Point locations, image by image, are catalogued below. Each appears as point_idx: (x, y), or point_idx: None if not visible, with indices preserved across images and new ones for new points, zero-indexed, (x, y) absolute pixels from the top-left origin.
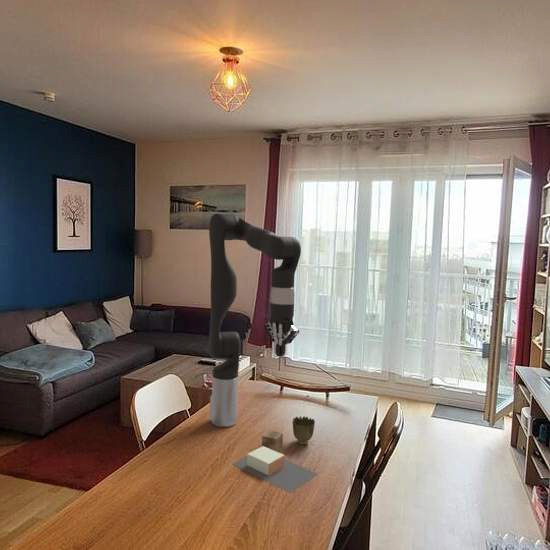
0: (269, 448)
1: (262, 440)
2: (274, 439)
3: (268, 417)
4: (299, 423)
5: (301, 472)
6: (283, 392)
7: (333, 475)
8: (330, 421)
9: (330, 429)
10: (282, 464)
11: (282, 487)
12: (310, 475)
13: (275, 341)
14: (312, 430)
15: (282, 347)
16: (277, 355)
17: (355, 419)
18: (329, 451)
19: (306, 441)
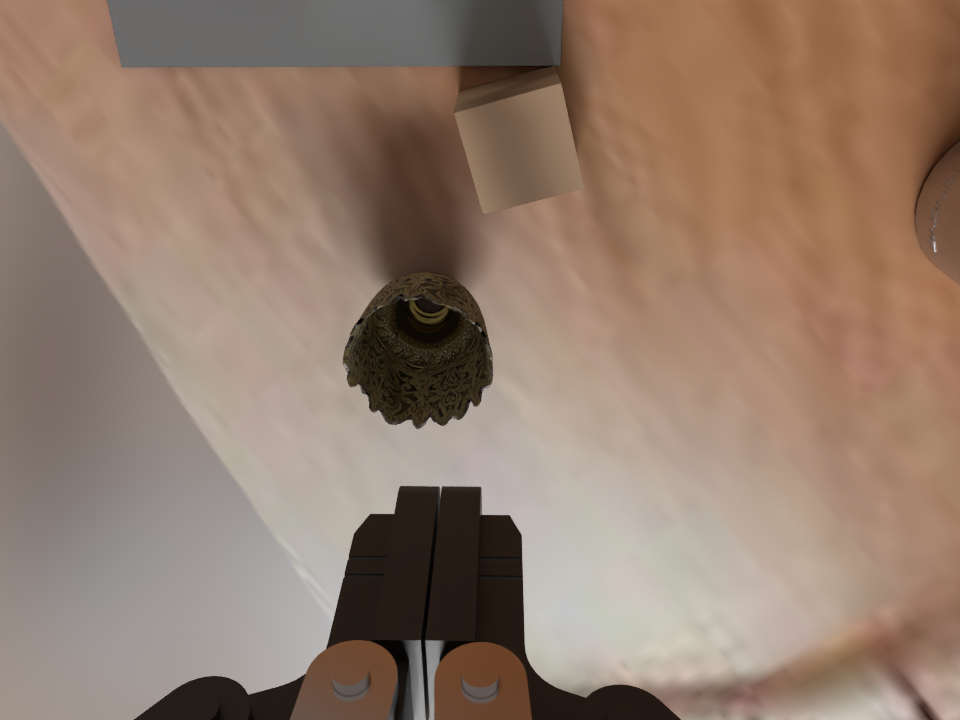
0: (502, 84)
1: (554, 77)
2: (468, 107)
3: (787, 423)
4: (476, 372)
5: (191, 8)
6: (894, 693)
7: (77, 125)
8: None
9: None
10: None
11: None
12: (134, 17)
13: (503, 700)
14: (357, 348)
15: (331, 629)
16: (450, 491)
17: None
18: (273, 323)
19: (399, 305)
